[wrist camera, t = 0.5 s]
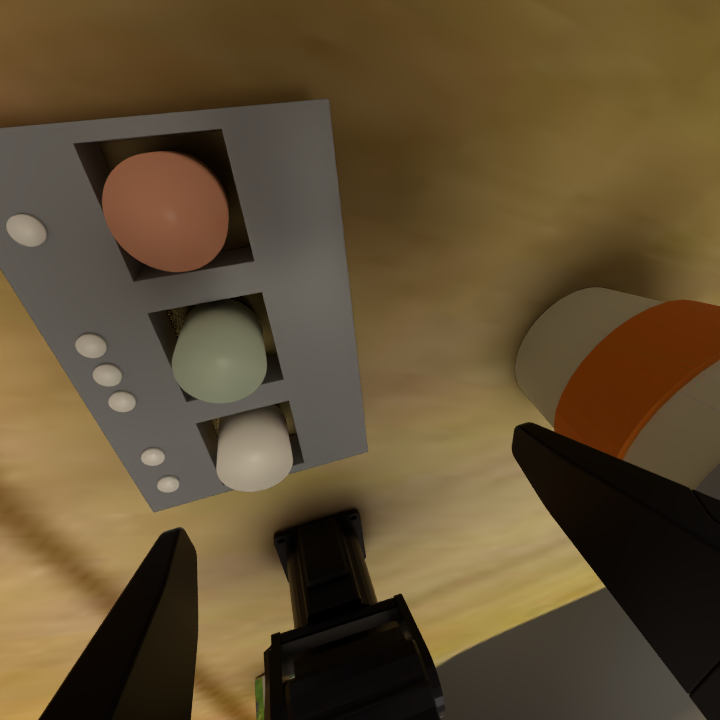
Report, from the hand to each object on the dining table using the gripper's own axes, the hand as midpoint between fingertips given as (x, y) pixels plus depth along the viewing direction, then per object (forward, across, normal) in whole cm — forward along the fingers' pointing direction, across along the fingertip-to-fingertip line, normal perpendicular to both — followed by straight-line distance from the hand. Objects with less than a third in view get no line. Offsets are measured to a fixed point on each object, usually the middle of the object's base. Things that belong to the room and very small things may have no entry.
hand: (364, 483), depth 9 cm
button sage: (+12, +4, 0) cm, 12 cm away
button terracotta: (+12, +4, -6) cm, 14 cm away
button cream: (+12, +4, +6) cm, 14 cm away
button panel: (+12, +4, 0) cm, 12 cm away
